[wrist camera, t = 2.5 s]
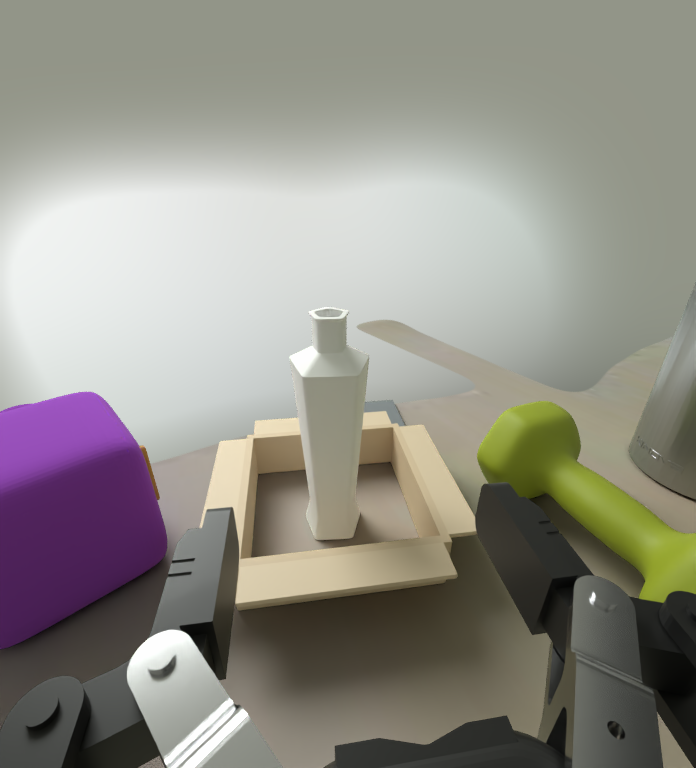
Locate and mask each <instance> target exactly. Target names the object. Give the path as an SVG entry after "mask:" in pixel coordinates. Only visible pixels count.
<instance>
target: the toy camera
mask: <svg viewBox="0 0 696 768" xmlns="http://www.w3.org/2000/svg"><path fill="white" fill-rule="evenodd" d="M159 499H160V497H159V493H158V489H157V486H156V482H155V479H154V475H153V472H152V469H151V465H150V462H149V458H148V455H147V451H146V448H145V447H144V446H139V445H138V443H137V442H136V440H135V439H134V438H133V436H132V435H131V433H130V432H129V430H128V429H127V428H126V427H125V425H124V424H123V422H121V420H120V418H119V417H118V416H117V415H116V413H115V412H114V411H113V409H112V408H111V407H110V405H109V404H108V403H107V402H106V401H105V400H104V399H103V398H102V397H101V396H99V395H97V394H96V393H92V392H79V393H73V394H68V395H64V396H61V397H56V398H53V399H49V400H45V401H42V402H38V403H34V404H24V405H18V406H14V407H11V408H8V409H5V410H3V411H1V412H0V649H4V648H8V647H11V646H13V645H15V644H18V643H20V642H22V641H24V640H26V639H28V638H30V637H32V636H34V635H36V634H37V633H39V632H41V631H43V630H45V629H47V628H48V627H50V626H52V625H54V624H55V623H57V622H59V621H61V620H63V619H64V618H66V617H68V616H70V615H71V614H73V613H75V612H77V611H78V610H80V609H82V608H84V607H85V606H87V605H89V604H91V603H92V602H94V601H96V600H98V599H99V598H101V597H103V596H105V595H106V594H108V593H110V592H112V591H113V590H115V589H117V588H119V587H120V586H122V585H124V584H126V583H127V582H129V581H131V580H133V579H134V578H136V577H138V576H139V575H141V574H143V573H144V572H146V571H147V570H149V569H151V568H152V567H153V566H155V565H156V564H158V563H159V562H160V561H161V560H162V559H163V557H164V556H165V554H166V551H167V535H166V530H165V526H164V522H163V519H162V515H161V512H160V508H159V505H158V502H157V500H159Z"/></svg>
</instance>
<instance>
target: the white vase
mask: <svg viewBox="0 0 696 768" xmlns="http://www.w3.org/2000/svg"><path fill="white" fill-rule="evenodd" d="M348 313H349V311H347V310H343V309H338V308H332V307H325V308H321V309H316V310H313V311H309V315H310V316H311V321H312V343H313V345H312V346H310V347H308V348H306V349H304V350H302V351H300V352H298V353H296V354H294V355H291V356H290V364H291V371H292V378H293V384H294V392H295V399H296V405H297V412H298V420H299V426H300V433H301V440H302V447H303V454H304V461H305V468H306V475H307V482H308V489H309V495H310V502H309V506H308V509H307V513H306V518H307V521H308V523H309V526H310V528H311V531H312V533H313V535H314V538H315V539H316V540H333V539H350V538H352V537H353V536H354V533H355V530H356V526H357V523H358V520H359V516H360V510H359V507H358V504H357V501H356V498H355V496H356V486H357V475H358V465H359V455H360V445H361V435H362V425H363V414H364V404H365V394H366V383H367V374H368V364H369V354H367V353H365V352H362V351H360V350H358V349H355V348H353V347H350V346H348V345H346V316H347V315H348Z"/></svg>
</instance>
